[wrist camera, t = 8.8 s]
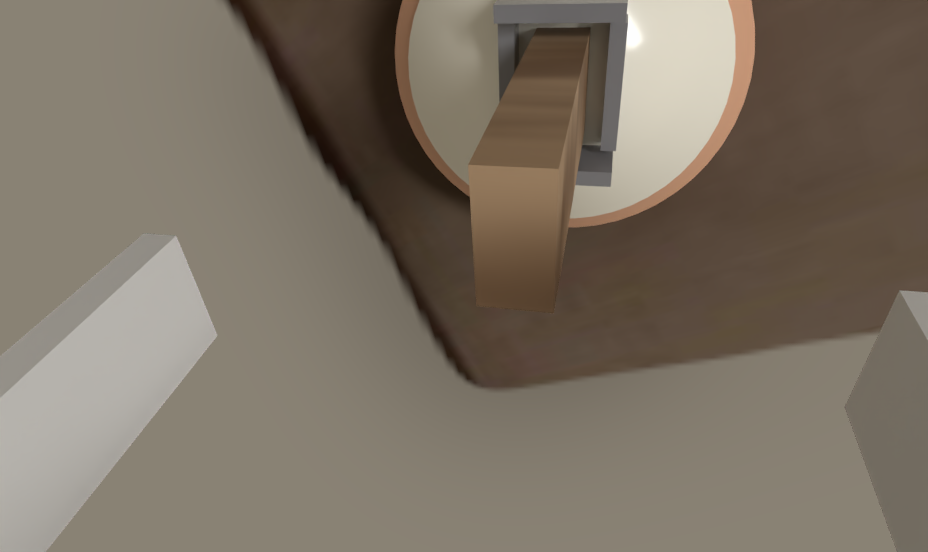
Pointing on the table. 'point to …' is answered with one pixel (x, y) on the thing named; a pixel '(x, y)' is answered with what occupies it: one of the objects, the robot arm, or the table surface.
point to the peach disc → (608, 88)
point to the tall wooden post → (530, 174)
